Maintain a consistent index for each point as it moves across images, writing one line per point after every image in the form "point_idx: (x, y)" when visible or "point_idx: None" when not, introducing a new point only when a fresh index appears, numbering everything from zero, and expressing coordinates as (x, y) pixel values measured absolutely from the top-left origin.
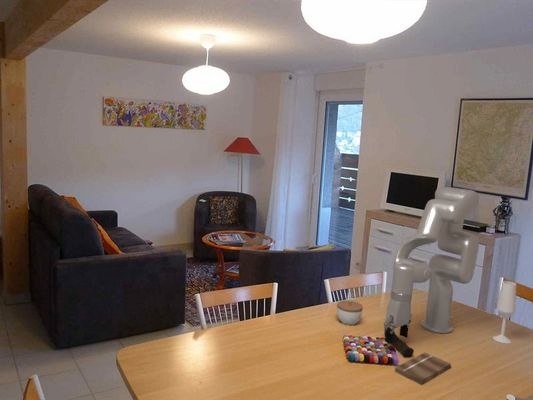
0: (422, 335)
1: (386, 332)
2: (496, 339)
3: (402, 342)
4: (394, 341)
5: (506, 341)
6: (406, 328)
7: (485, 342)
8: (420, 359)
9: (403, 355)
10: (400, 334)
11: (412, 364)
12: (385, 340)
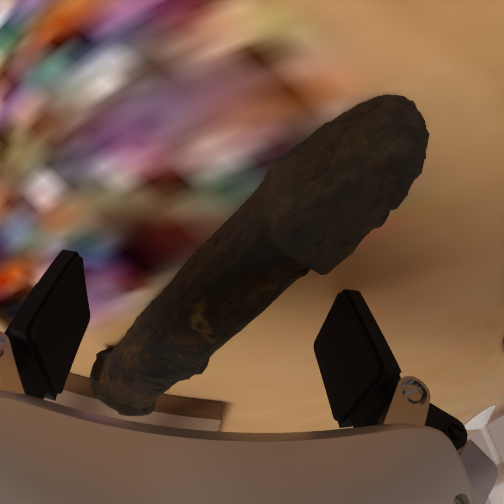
0: (478, 308)
1: (21, 322)
2: (475, 419)
3: (160, 373)
4: (171, 295)
5: (466, 429)
6: (338, 417)
7: (459, 418)
8: (126, 418)
9: (97, 357)
10: (339, 304)
11: (55, 401)
12: (63, 256)
